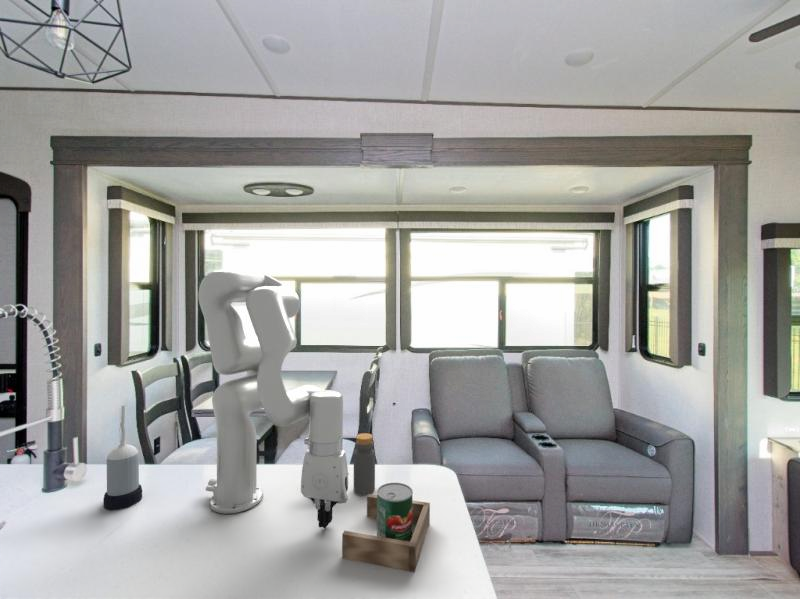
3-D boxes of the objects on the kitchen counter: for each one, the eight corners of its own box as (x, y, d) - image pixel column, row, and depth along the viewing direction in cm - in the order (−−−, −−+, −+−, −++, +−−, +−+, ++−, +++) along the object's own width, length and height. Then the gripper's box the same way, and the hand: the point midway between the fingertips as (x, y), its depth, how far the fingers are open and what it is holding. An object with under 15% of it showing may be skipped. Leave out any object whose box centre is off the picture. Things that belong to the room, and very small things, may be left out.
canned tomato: (389, 525, 91) (389, 479, 91) (418, 536, 87) (419, 488, 87) (369, 544, 85) (369, 493, 84) (400, 557, 81) (400, 504, 80)
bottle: (371, 496, 104) (371, 440, 104) (350, 494, 105) (350, 439, 105) (377, 486, 110) (377, 433, 110) (357, 483, 111) (357, 431, 111)
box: (342, 558, 80) (342, 534, 80) (368, 514, 96) (368, 494, 96) (414, 571, 76) (414, 546, 76) (429, 523, 92) (429, 502, 92)
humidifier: (146, 491, 106) (146, 400, 106) (135, 507, 98) (134, 408, 98) (112, 495, 104) (111, 402, 103) (97, 512, 96) (96, 411, 95)
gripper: (288, 448, 88) (287, 528, 88) (350, 456, 84) (349, 540, 85) (304, 436, 95) (303, 510, 96) (362, 443, 91) (361, 520, 92)
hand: (324, 524), depth 90 cm, fingers closed
